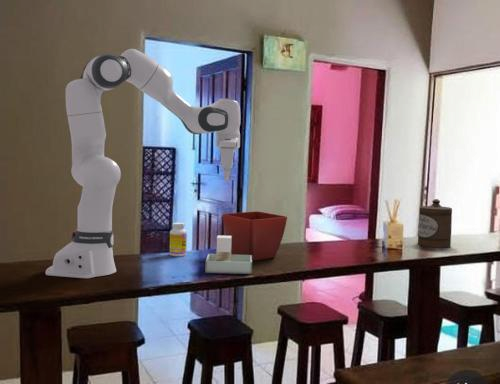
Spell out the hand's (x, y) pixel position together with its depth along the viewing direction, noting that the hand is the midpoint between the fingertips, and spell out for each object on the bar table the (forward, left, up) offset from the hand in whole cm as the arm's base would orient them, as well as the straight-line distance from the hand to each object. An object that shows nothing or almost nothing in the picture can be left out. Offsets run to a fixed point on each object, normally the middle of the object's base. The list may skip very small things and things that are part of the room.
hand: (227, 179), depth 197 cm
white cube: (0, -12, -24) cm, 27 cm away
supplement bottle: (-19, +10, -31) cm, 38 cm away
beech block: (0, -12, -30) cm, 33 cm away
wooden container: (+98, +51, -31) cm, 115 cm away
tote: (+2, -12, -31) cm, 33 cm away
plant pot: (+11, +11, -31) cm, 35 cm away
